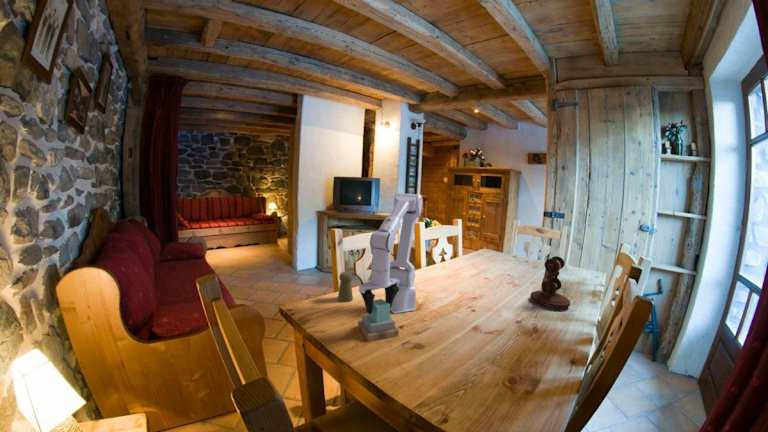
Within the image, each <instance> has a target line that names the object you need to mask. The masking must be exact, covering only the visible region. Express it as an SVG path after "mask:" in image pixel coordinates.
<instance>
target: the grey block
mask: <svg viewBox="0 0 768 432" xmlns="http://www.w3.org/2000/svg"><path fill="white" fill-rule="evenodd" d="M361 315H362V316H361V320H362V322H363V324H364V325H365V326H366V327H367V329H368V330H369V331H370V333H376V332H381V331H387V330H392V329H394V326H395V324H396V323H395V320H394V319H392V317H391V316H390V317H389V319H388V320H384V321H381V322H377V323H376V322H375V321H374V320H372V319H371V318H369V317H368V313H362V314H361Z"/></svg>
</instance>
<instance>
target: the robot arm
mask: <svg viewBox="0 0 768 432" xmlns="http://www.w3.org/2000/svg"><path fill="white" fill-rule="evenodd" d="M423 203H424V201H423V196H422V195H421V194H420V193H416V194H414V193H404V192H402V193H401V192H396V194H395V195H394V197H393V210H392V211H391V214H390V215H388V216H386V217H385V218H384V220H383V221H382V224H381V225H380V227H379V228H378V230H375V231H373V232H372V233H371V235H370V239H369V247H370V254H371V255H372V257H371V258H372V261H371V279H370V281H368V282H366V283H363V284H359V285H358V288H359V289H358V292H359V293H360V295H361V297H362V300H363V302H364V306H365V310H366V313H367V314H368V313H369V314H371V313H372V306H373V301H374V300H375V297H376V294H374V293H373V291H375V290H380V289H384V293H385V300H384V301H386V302H387V303H389V304H390V312H392V313H393V314H400V313H401V314H402V313H407V312H413V311H416V309H417V308H416V296H417V292H416V288H415V287H414V284H415V278H416V273H415V272H416V271H415V270H416V268H415V266H414V265H413V264H412V263H411V261H410V256H411V250H412V244H413V237H414V231H415V225H416V221H417V219H418V218H420V217H421V216H422V211H423ZM401 220H402V223H401ZM400 229H401V230H400ZM399 231H400V234H399V235H400V236H399V242H398V248H397V253H396V259H395V260H392V261H391V255H392V250H393V249H394V246H395V242H396V238H397V237H396V235H397V234H398V232H399Z"/></svg>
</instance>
